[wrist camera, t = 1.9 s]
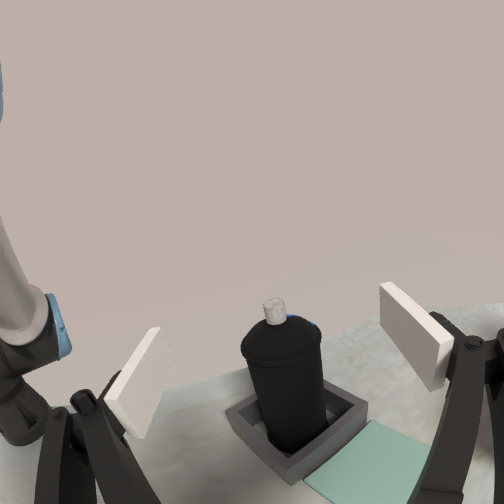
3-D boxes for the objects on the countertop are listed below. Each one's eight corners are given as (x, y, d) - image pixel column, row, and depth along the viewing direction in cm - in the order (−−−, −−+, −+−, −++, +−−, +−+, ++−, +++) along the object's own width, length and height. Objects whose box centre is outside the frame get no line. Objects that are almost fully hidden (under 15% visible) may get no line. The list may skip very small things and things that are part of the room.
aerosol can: (319, 458, 25) (303, 327, 20) (257, 447, 29) (213, 323, 24) (335, 411, 32) (324, 282, 27) (280, 406, 36) (252, 285, 31)
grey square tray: (233, 430, 32) (224, 410, 31) (302, 386, 39) (298, 365, 38) (291, 486, 22) (286, 470, 21) (366, 423, 28) (368, 402, 27)
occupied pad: (303, 481, 22) (303, 479, 22) (372, 422, 28) (372, 419, 28) (381, 533, 12) (382, 532, 12) (445, 455, 18) (446, 453, 18)
